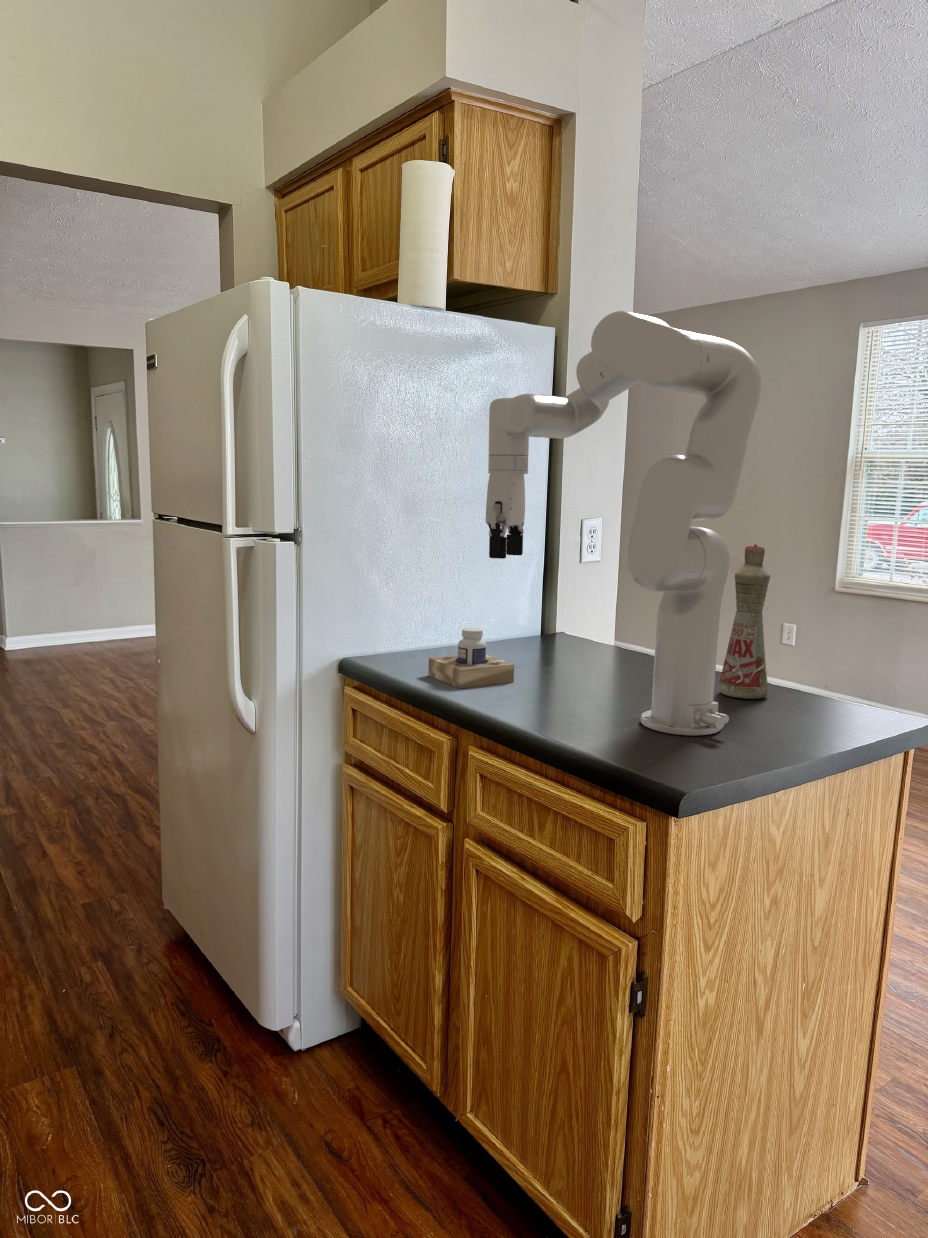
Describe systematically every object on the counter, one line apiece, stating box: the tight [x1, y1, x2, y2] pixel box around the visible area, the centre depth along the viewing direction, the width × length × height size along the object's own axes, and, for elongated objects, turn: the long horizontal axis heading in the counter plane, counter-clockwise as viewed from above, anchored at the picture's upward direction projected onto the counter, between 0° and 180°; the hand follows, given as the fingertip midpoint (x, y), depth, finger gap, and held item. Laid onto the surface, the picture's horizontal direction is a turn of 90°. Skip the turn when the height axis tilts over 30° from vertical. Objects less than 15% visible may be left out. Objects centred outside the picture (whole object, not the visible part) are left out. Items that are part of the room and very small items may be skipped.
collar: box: [427, 654, 515, 689], centre depth 170 cm, size 12×12×4 cm
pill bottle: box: [457, 627, 487, 665], centre depth 170 cm, size 5×5×10 cm
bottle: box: [718, 543, 771, 700], centre depth 161 cm, size 9×9×28 cm
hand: (506, 556), depth 168 cm, fingers open, 9 cm apart
